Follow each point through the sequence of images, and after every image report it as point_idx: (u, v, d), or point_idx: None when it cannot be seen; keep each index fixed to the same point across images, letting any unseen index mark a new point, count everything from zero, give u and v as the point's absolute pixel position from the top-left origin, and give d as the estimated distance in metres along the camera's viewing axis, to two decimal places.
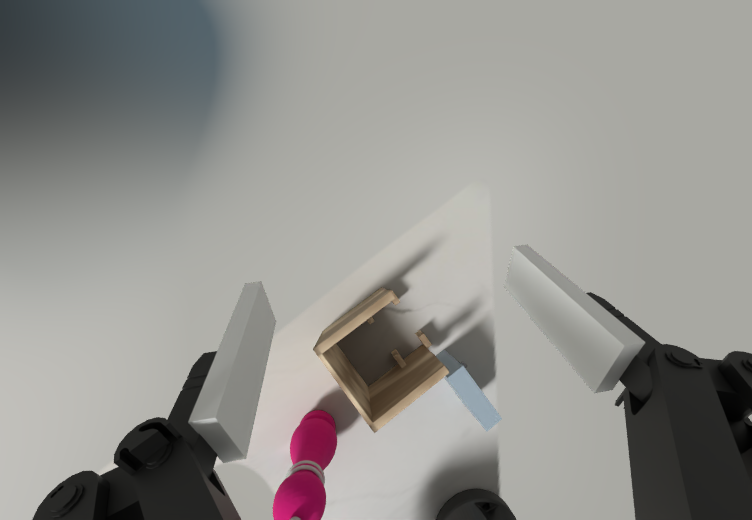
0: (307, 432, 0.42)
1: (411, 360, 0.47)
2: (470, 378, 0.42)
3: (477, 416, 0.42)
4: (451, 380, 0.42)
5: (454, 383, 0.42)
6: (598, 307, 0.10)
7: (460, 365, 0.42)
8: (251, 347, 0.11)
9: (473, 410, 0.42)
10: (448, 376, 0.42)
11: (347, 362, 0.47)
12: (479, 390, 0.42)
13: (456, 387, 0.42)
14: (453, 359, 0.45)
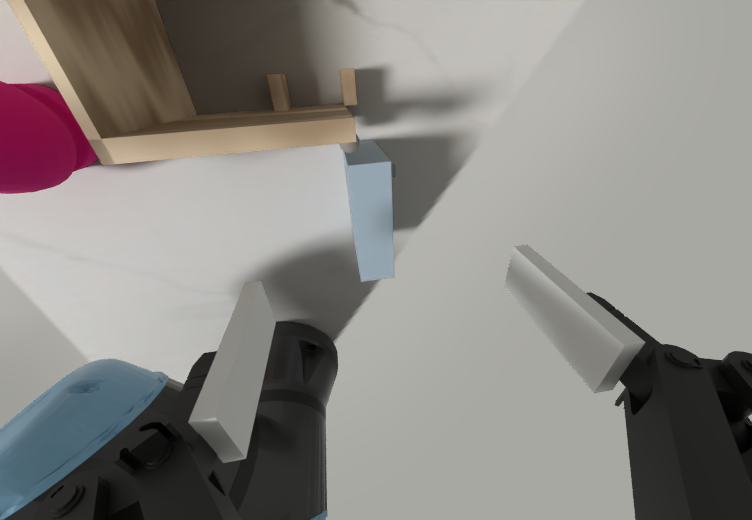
0: None
1: (301, 109, 0.22)
2: (388, 192, 0.20)
3: (360, 256, 0.23)
4: (352, 174, 0.19)
5: (354, 183, 0.20)
6: (598, 307, 0.10)
7: (386, 159, 0.20)
8: (251, 347, 0.11)
9: (360, 244, 0.22)
10: (351, 164, 0.19)
11: (147, 14, 0.19)
12: (389, 221, 0.22)
13: (354, 192, 0.20)
14: (379, 151, 0.22)
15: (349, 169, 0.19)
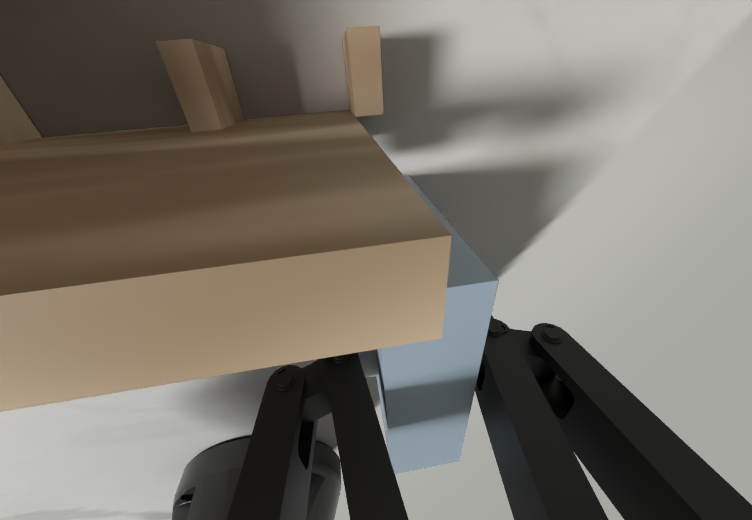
0: None
1: (256, 125, 0.10)
2: (476, 343, 0.08)
3: (394, 444, 0.11)
4: None
5: None
6: None
7: (479, 269, 0.07)
8: None
9: (395, 430, 0.10)
10: None
11: None
12: (468, 389, 0.09)
13: (389, 351, 0.08)
14: None
15: None
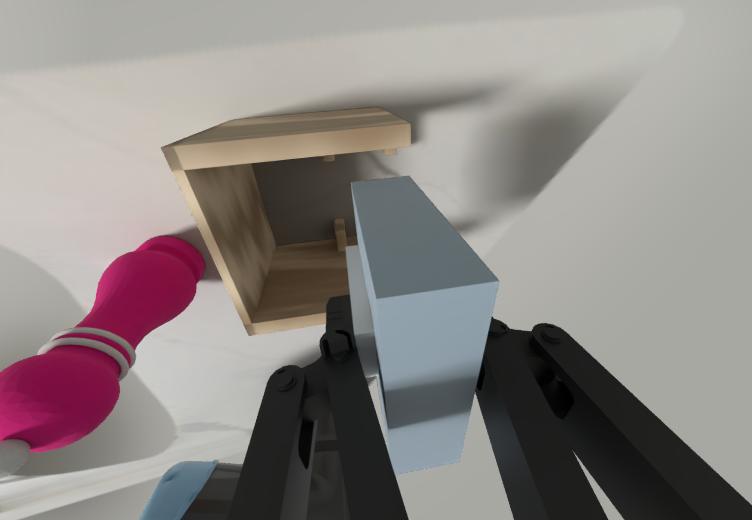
0: (136, 273, 0.23)
1: None
2: (476, 343, 0.08)
3: (394, 445, 0.10)
4: (388, 317, 0.07)
5: (393, 334, 0.07)
6: None
7: (479, 270, 0.07)
8: None
9: (395, 431, 0.10)
10: (385, 291, 0.07)
11: (255, 199, 0.26)
12: (468, 390, 0.09)
13: (389, 352, 0.07)
14: (440, 220, 0.10)
15: (380, 307, 0.07)
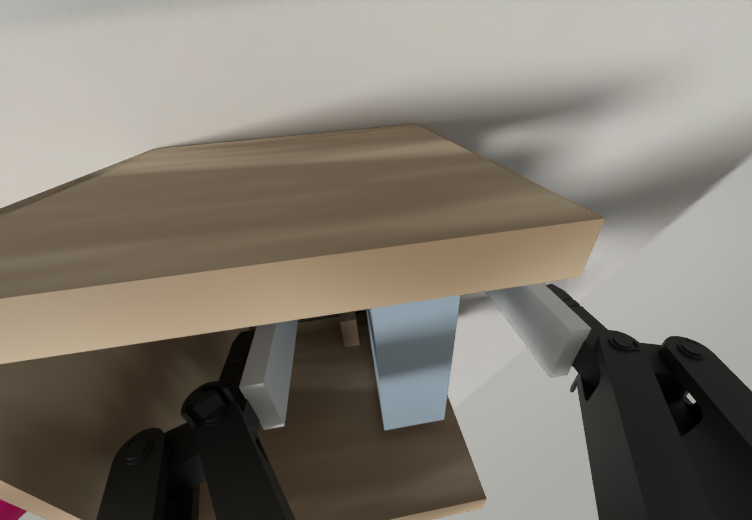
0: None
1: None
2: (452, 303, 0.09)
3: (385, 399, 0.12)
4: None
5: None
6: (553, 297, 0.11)
7: None
8: (284, 327, 0.12)
9: (385, 384, 0.11)
10: None
11: None
12: (447, 346, 0.11)
13: (378, 308, 0.09)
14: None
15: None
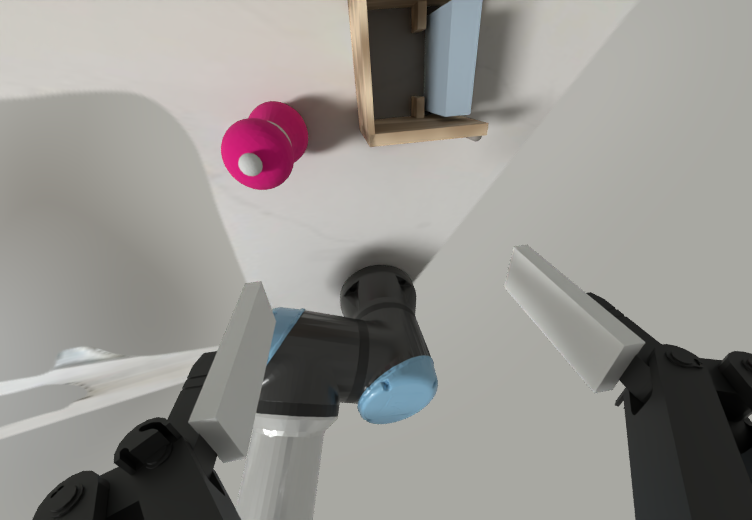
0: (279, 109, 0.31)
1: (431, 116, 0.37)
2: (477, 27, 0.28)
3: (448, 89, 0.30)
4: (454, 8, 0.27)
5: (455, 16, 0.27)
6: (598, 307, 0.10)
7: None
8: (251, 347, 0.11)
9: (450, 77, 0.30)
10: None
11: None
12: (474, 55, 0.29)
13: (453, 25, 0.27)
14: None
15: (453, 2, 0.26)
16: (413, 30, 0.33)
